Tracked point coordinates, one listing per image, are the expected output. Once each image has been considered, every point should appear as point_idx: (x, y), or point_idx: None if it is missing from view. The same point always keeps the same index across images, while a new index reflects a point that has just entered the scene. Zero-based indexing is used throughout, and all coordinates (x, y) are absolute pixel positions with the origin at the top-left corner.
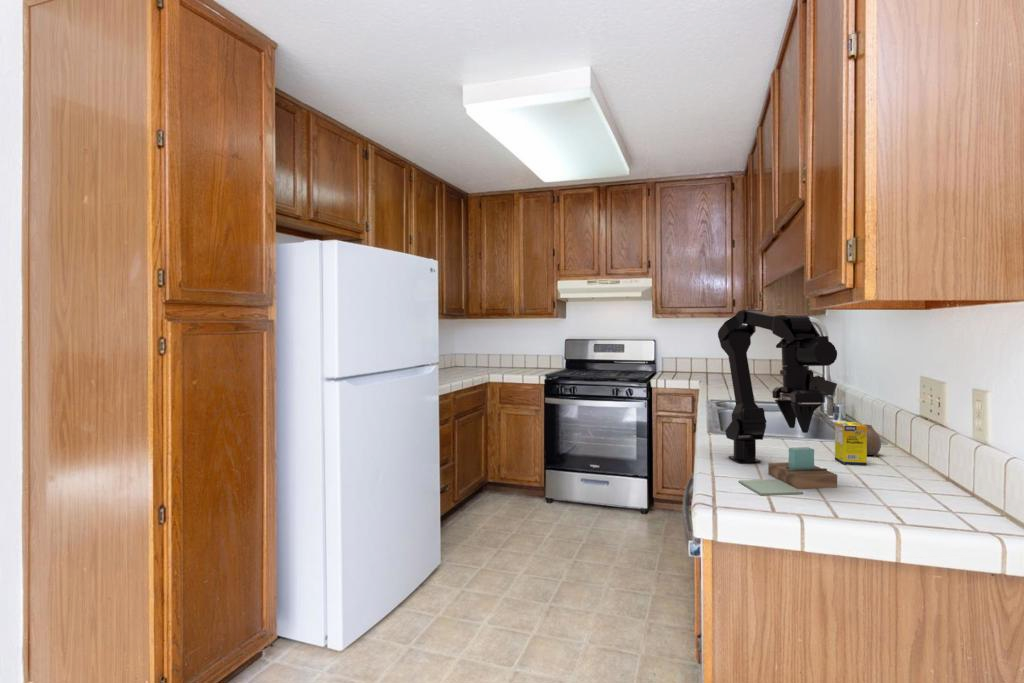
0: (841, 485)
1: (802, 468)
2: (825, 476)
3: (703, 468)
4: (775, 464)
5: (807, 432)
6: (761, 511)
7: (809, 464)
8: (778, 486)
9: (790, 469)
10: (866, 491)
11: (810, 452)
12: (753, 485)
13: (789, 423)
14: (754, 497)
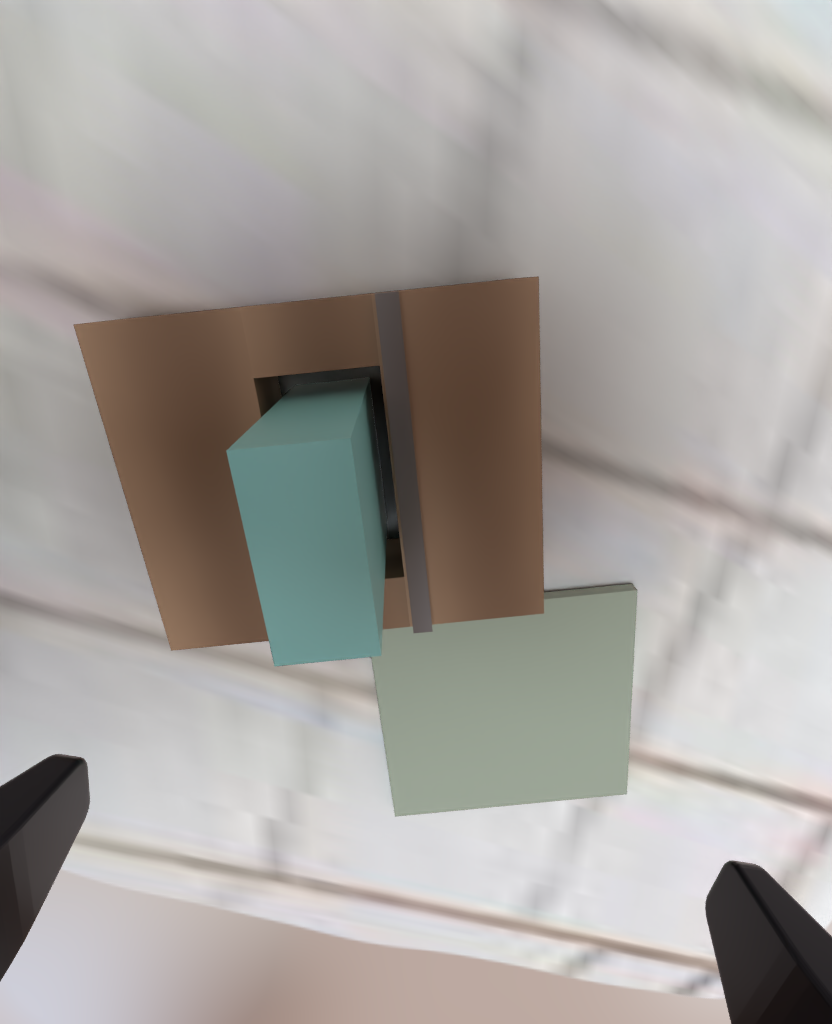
0: (465, 206)
1: (376, 499)
2: (536, 388)
3: (115, 881)
4: (218, 621)
5: (754, 865)
6: (823, 848)
7: (366, 447)
8: (519, 673)
9: (414, 605)
10: (635, 86)
11: (359, 474)
12: (490, 781)
13: (44, 894)
14: (643, 815)
